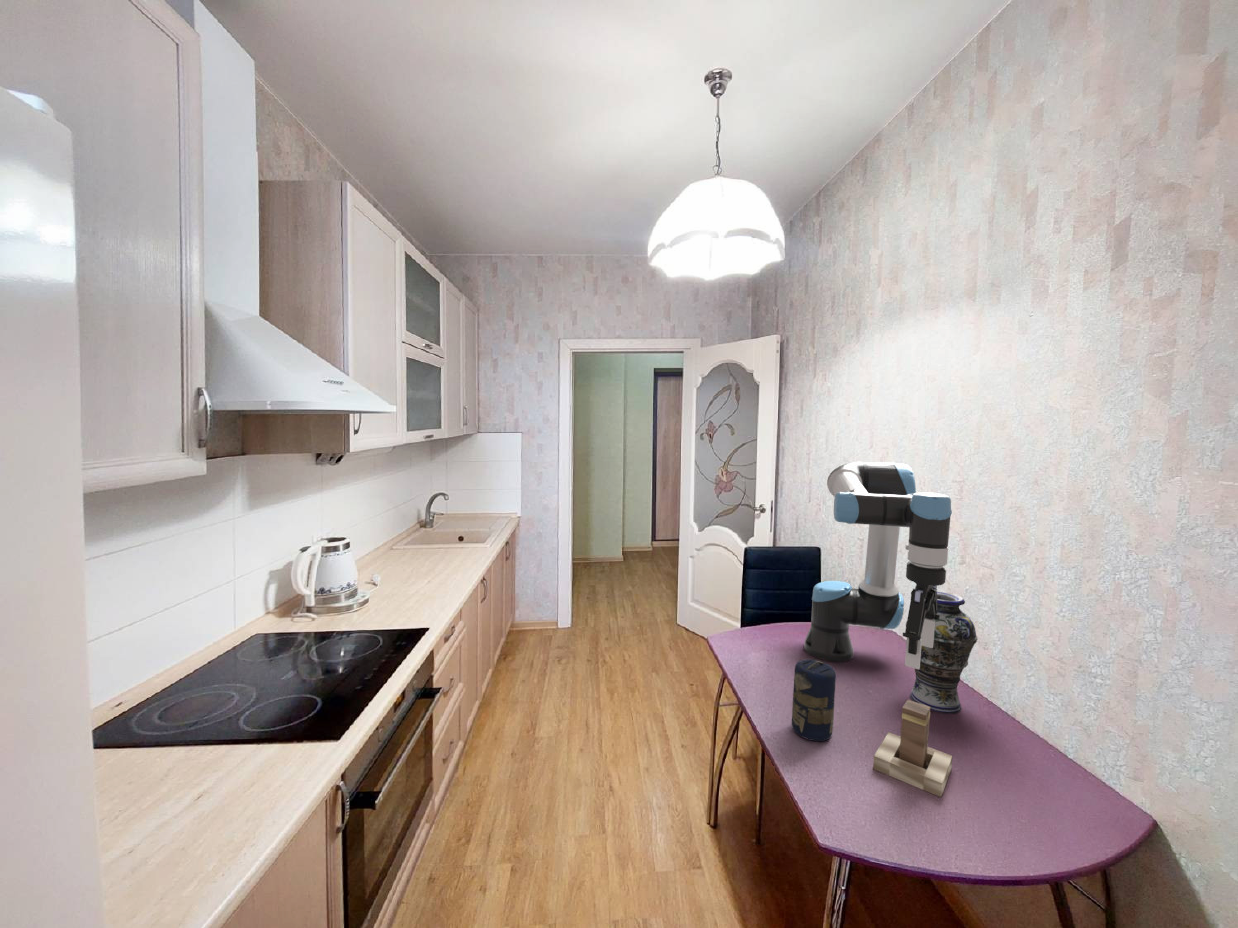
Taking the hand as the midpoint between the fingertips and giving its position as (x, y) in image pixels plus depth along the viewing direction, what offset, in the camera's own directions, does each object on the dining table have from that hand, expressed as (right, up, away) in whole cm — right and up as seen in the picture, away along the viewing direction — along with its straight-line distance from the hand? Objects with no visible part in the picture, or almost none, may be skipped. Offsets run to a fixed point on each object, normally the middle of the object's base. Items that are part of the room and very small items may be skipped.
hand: (919, 656), depth 117 cm
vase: (+20, -23, +27) cm, 41 cm away
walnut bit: (-2, -24, -1) cm, 24 cm away
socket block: (-2, -25, -1) cm, 25 cm away
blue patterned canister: (-20, -23, +12) cm, 33 cm away
